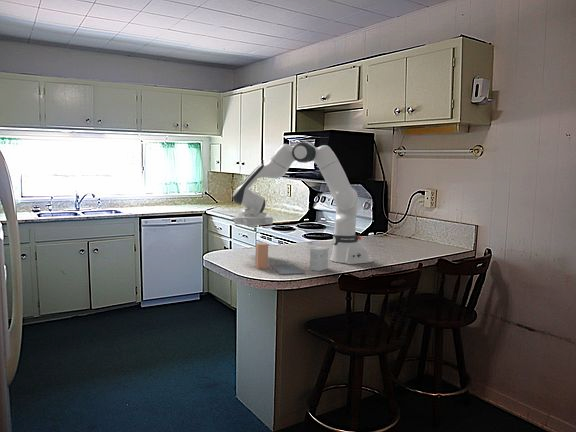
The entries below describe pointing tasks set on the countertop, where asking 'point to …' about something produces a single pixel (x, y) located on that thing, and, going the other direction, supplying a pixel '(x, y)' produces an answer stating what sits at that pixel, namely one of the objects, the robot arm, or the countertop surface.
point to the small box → (319, 258)
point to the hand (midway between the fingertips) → (256, 222)
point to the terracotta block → (261, 255)
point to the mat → (287, 269)
